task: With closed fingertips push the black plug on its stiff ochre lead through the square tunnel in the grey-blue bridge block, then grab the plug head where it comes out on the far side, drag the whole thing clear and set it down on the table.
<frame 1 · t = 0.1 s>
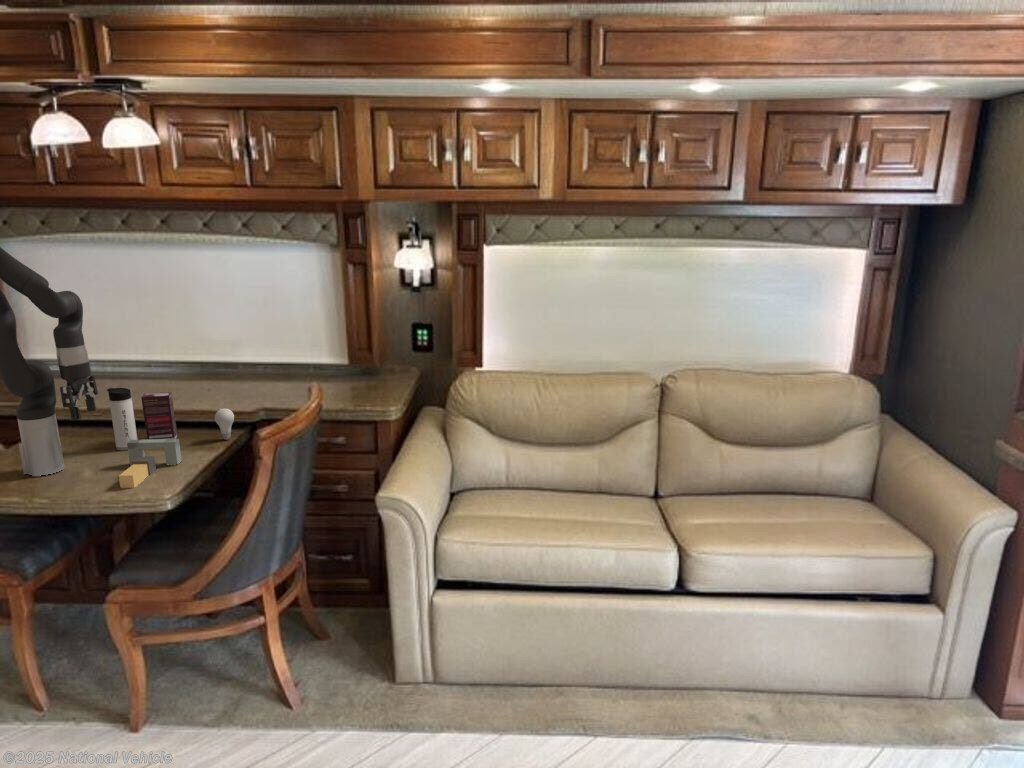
hand: (84, 415, 199), 17 cm above the table, tool pointing down, fingers open, 8 cm apart
supplement box: (162, 439, 231), on the table
lightbulb: (226, 440, 230), on the table
grey-blue bridge block: (156, 464, 208), on the table
plug: (138, 479, 197), on the table
travel mug: (127, 448, 223), on the table
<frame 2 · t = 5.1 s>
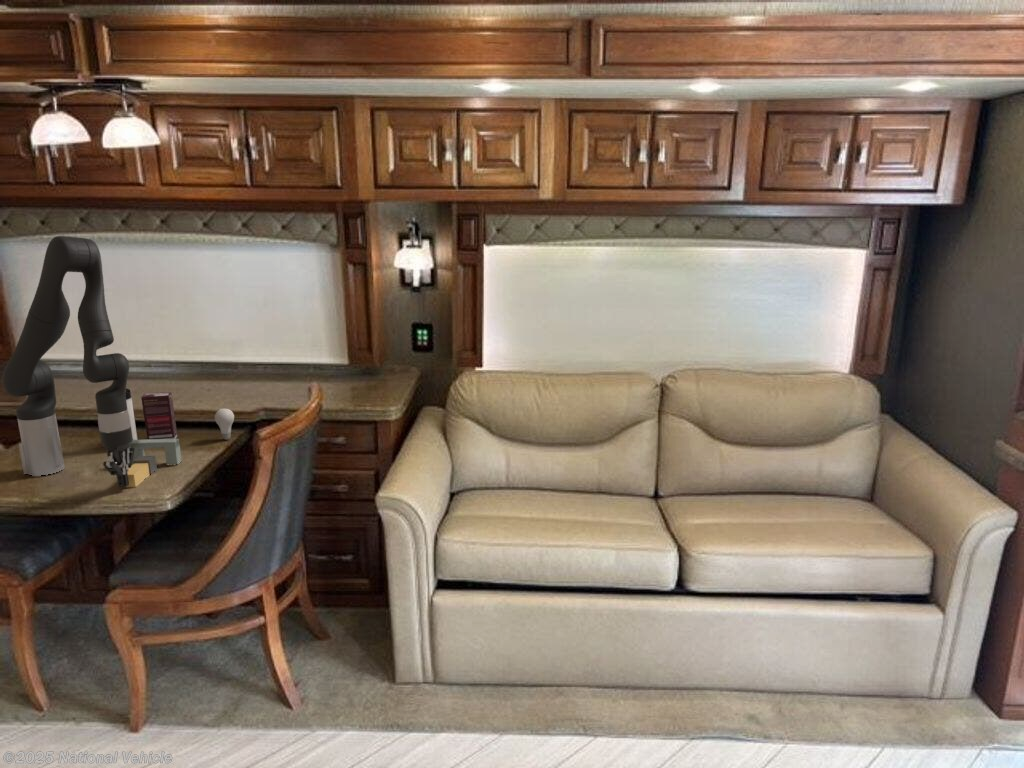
hand: (123, 486, 188), 1 cm above the table, tool pointing down, fingers closed
plug: (139, 478, 197), on the table, touching gripper
everything else where it was.
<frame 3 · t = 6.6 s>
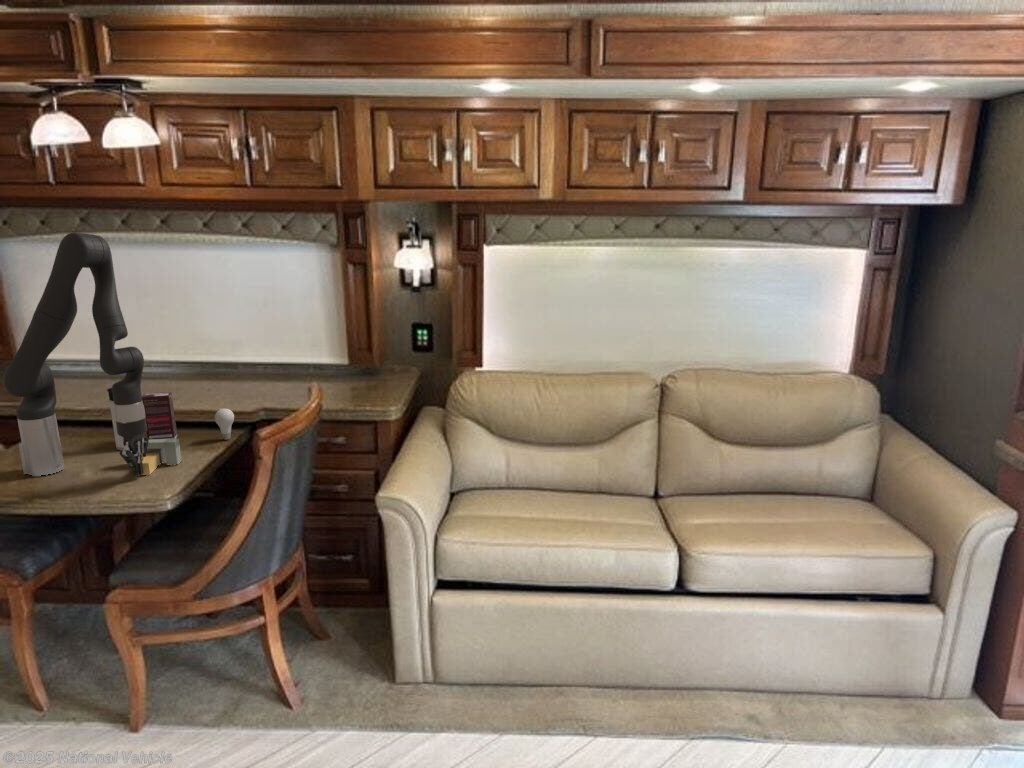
hand: (138, 474, 197), 1 cm above the table, tool pointing down, fingers closed
plug: (151, 467, 205), on the table, touching gripper
everything else where it was.
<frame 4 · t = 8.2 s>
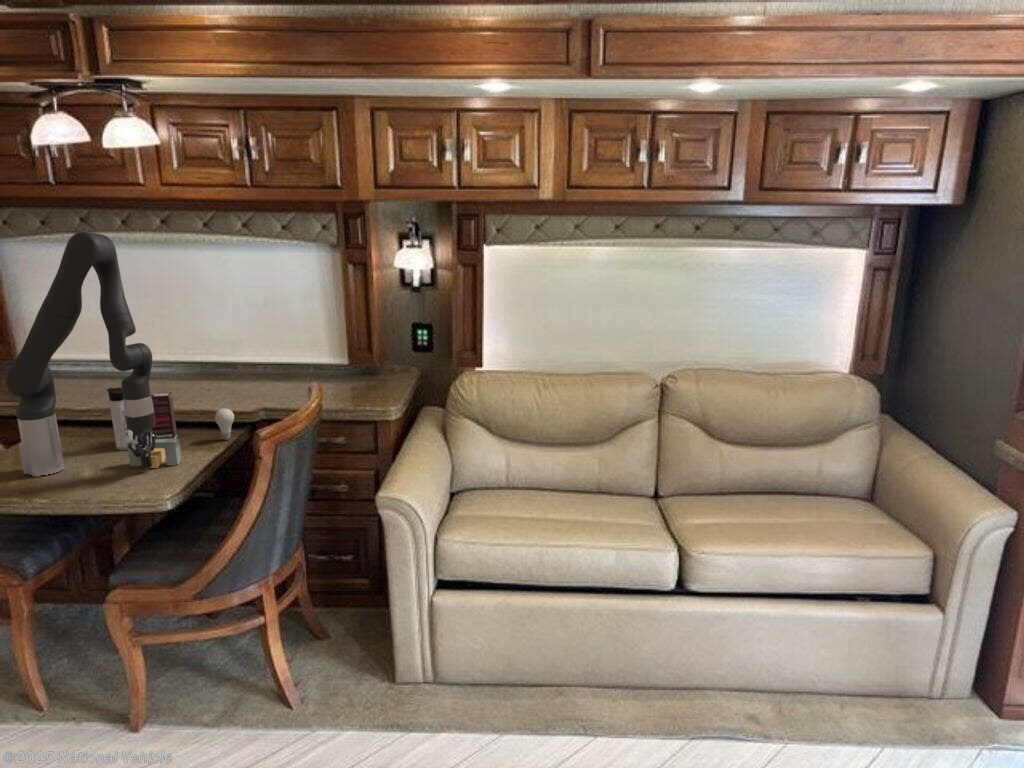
hand: (147, 467, 202), 1 cm above the table, tool pointing down, fingers closed
plug: (157, 461, 210), on the table, touching gripper
everything else where it was.
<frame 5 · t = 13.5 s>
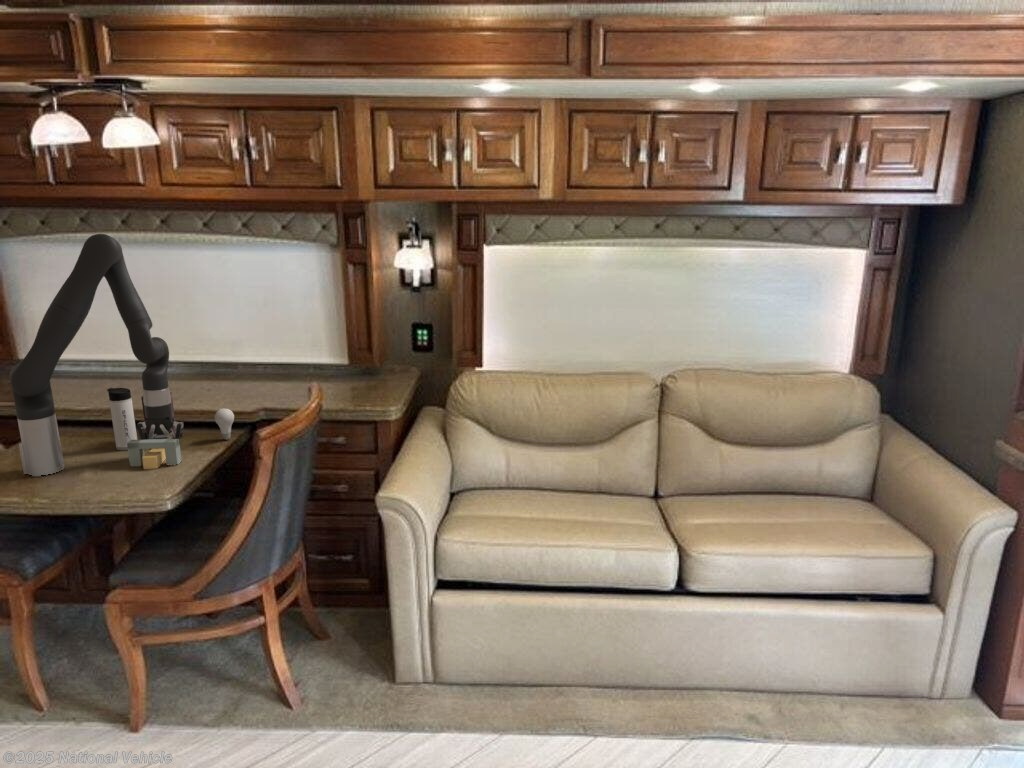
hand: (163, 453, 215), 1 cm above the table, tool pointing down, fingers closed on plug, 5 cm apart
plug: (158, 461, 210), on the table, touching gripper
everything else where it was.
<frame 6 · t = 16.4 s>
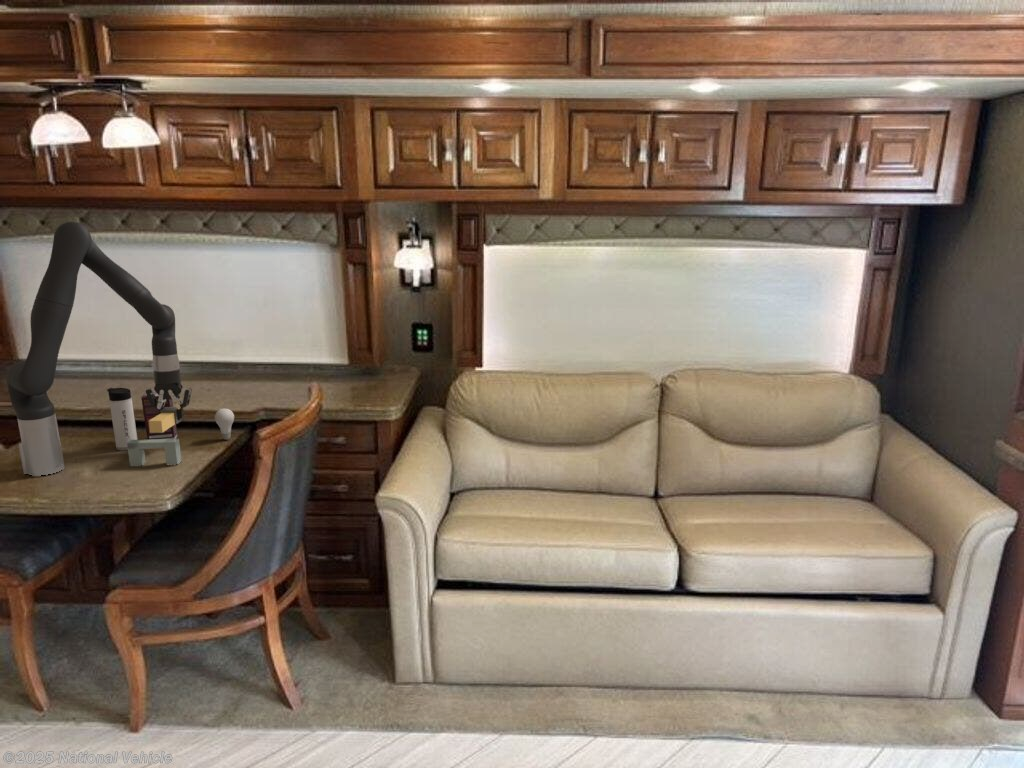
hand: (171, 419, 219), 10 cm above the table, tool pointing down, fingers closed on plug, 4 cm apart
plug: (165, 426, 215), point 9 cm above the table, touching gripper
everything else where it was.
when the fingers open (2 cm above the table, at t = 19.3 s): plug stays where it is, on the table.
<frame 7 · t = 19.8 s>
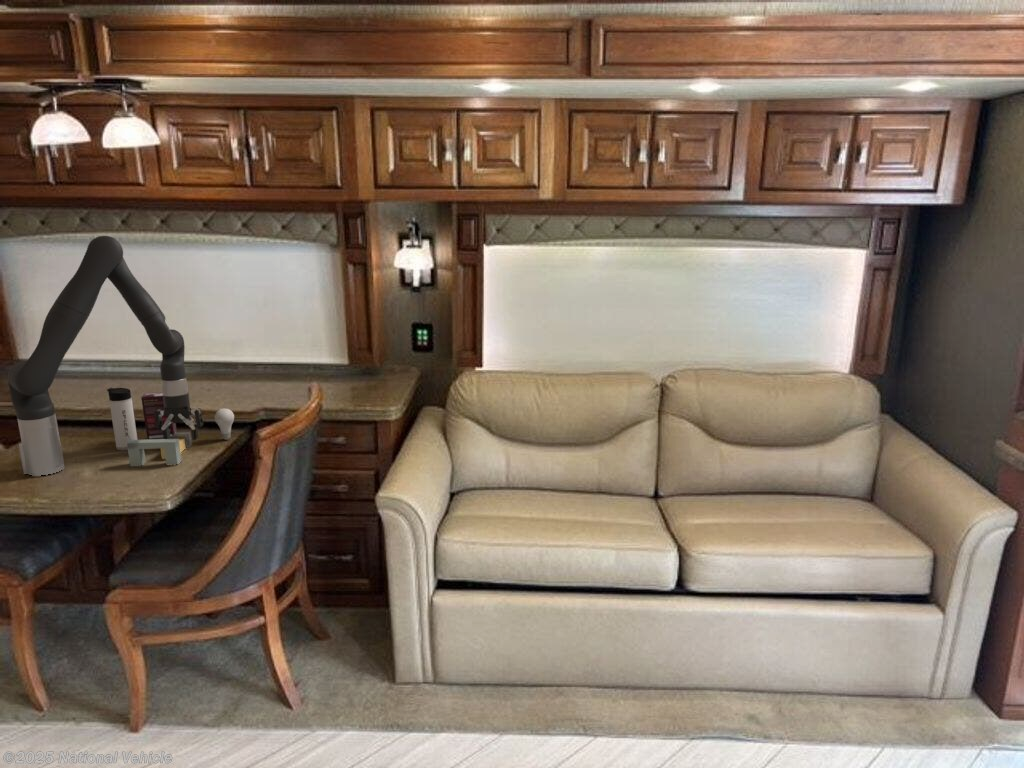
hand: (181, 439, 222), 3 cm above the table, tool pointing down, fingers open, 8 cm apart
plug: (176, 452, 218), on the table
everything else where it was.
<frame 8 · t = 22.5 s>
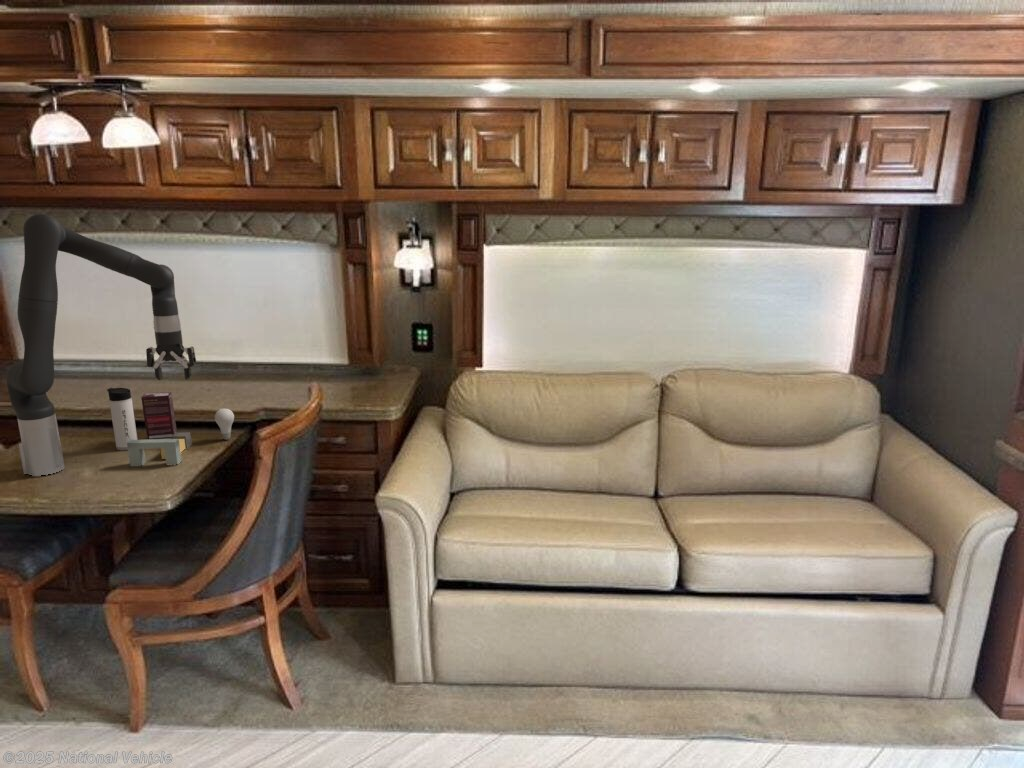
hand: (173, 379, 217), 23 cm above the table, tool pointing down, fingers open, 8 cm apart
nothing on the table moved.
at the end: plug inside the target area (2.6 cm from its centre), on the table; plug touching table; the gripper is holding nothing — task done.
